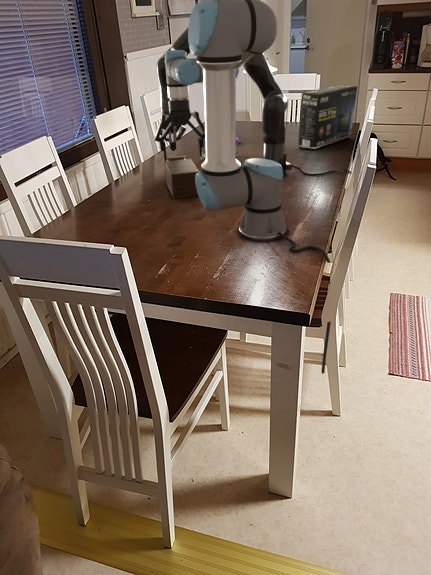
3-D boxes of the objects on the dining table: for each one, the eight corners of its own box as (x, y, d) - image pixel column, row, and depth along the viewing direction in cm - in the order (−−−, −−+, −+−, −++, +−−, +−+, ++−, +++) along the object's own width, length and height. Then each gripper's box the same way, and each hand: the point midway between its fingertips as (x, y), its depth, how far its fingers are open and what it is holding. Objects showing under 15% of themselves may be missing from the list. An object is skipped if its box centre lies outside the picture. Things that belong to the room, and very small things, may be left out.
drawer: (163, 172, 207) (162, 154, 203) (185, 170, 209) (183, 152, 205) (170, 188, 188) (169, 168, 184) (194, 185, 190) (193, 166, 186)
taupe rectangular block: (167, 184, 195) (164, 161, 190) (192, 181, 197) (190, 158, 192) (173, 198, 180) (171, 174, 175) (200, 195, 182) (199, 171, 177)
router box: (314, 151, 231) (318, 94, 217) (296, 148, 237) (299, 92, 224) (352, 138, 251) (358, 85, 238) (335, 135, 258) (340, 83, 245)
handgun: (220, 136, 265) (220, 133, 264) (233, 135, 266) (233, 132, 265) (227, 145, 248) (227, 141, 247) (241, 143, 249) (241, 140, 248)
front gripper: (210, 94, 170) (212, 152, 181) (143, 99, 166) (149, 158, 177) (214, 97, 164) (216, 157, 175) (145, 102, 160) (151, 163, 170)
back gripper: (183, 106, 196) (186, 147, 205) (153, 108, 194) (157, 149, 203) (186, 109, 190) (189, 151, 199) (155, 111, 188) (159, 154, 197)
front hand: (182, 157), depth 176 cm, fingers open, 13 cm apart
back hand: (173, 150), depth 201 cm, fingers closed
